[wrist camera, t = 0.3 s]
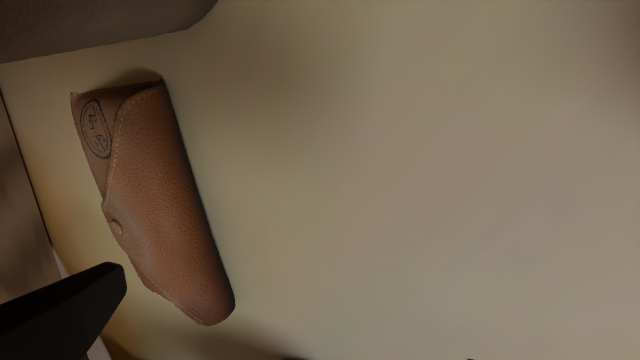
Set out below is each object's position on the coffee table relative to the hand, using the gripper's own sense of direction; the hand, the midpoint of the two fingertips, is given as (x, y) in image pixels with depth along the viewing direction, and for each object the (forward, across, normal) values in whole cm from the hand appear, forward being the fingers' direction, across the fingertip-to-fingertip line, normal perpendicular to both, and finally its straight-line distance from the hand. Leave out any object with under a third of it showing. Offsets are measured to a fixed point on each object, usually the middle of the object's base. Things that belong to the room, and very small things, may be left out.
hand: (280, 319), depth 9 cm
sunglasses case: (+14, +14, +8) cm, 21 cm away
